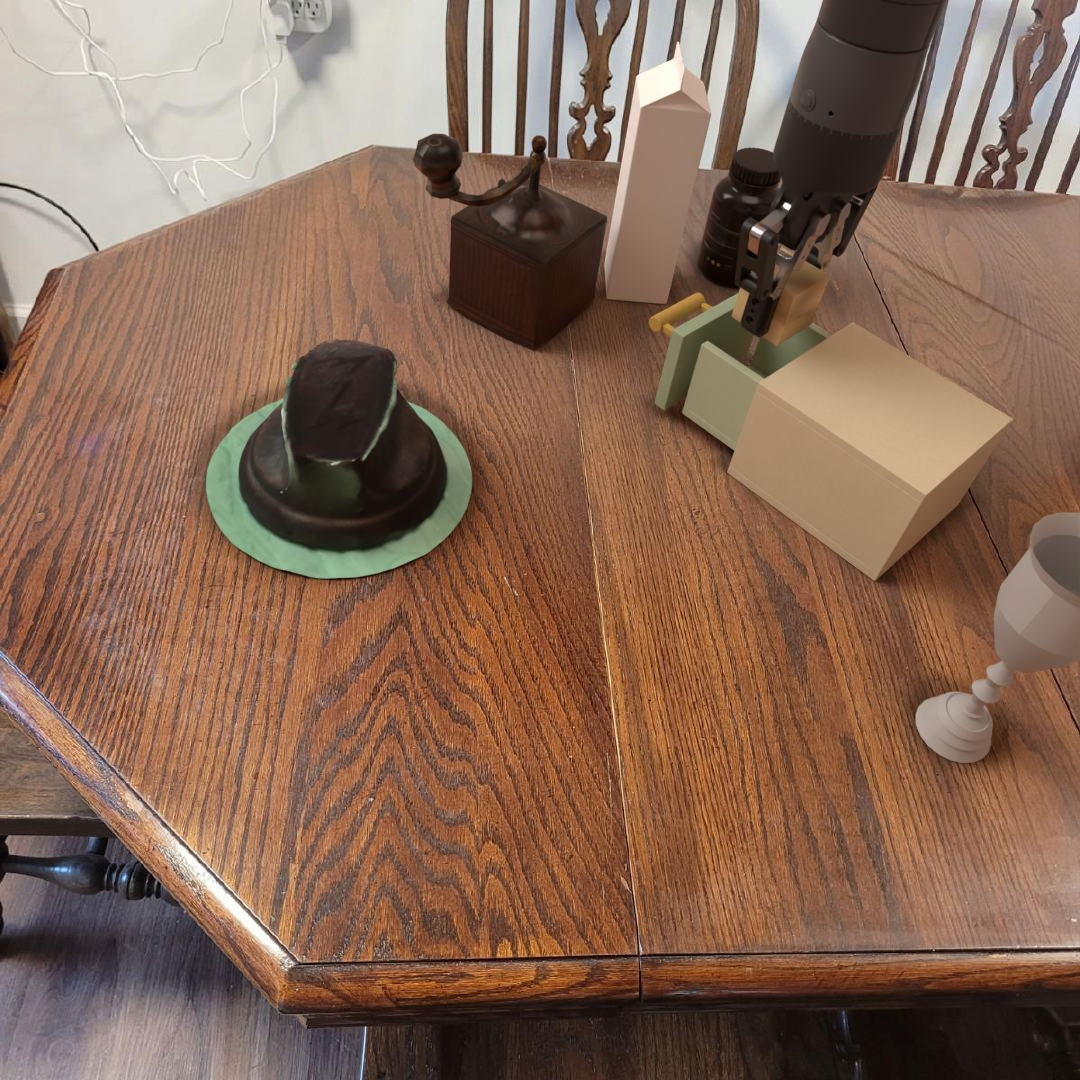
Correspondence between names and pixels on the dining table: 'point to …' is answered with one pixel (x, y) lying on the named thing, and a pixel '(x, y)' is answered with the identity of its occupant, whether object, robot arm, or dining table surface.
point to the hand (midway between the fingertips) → (773, 317)
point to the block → (791, 302)
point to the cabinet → (864, 446)
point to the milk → (656, 181)
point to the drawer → (719, 364)
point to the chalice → (1016, 638)
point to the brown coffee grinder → (515, 247)
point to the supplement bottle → (736, 211)
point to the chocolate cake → (339, 470)
